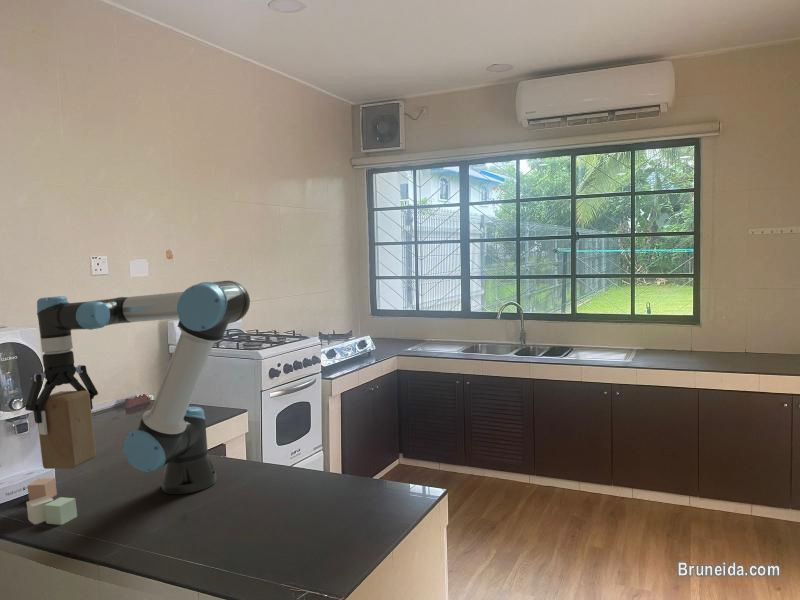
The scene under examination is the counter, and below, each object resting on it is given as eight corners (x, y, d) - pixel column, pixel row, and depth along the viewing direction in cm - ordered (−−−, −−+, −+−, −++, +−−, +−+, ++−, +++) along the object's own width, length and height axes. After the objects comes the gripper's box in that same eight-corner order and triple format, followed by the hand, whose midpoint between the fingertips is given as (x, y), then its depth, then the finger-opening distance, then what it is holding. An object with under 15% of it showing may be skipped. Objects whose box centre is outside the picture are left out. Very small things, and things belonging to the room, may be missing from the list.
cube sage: (77, 516, 159) (75, 498, 159) (61, 525, 154) (59, 506, 154) (62, 515, 160) (60, 497, 160) (46, 523, 156) (44, 505, 155)
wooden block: (72, 470, 164) (64, 398, 163) (41, 470, 166) (33, 399, 165) (98, 457, 174) (90, 389, 172) (68, 457, 176) (60, 390, 174)
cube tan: (57, 494, 176) (55, 478, 176) (46, 501, 171) (44, 484, 171) (40, 495, 176) (38, 478, 176) (29, 502, 171) (27, 485, 171)
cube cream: (55, 517, 159) (53, 499, 159) (34, 525, 155) (32, 506, 155) (49, 513, 162) (47, 495, 162) (28, 520, 159) (26, 501, 158)
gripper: (91, 344, 180) (99, 415, 181) (4, 359, 160) (14, 438, 161) (106, 345, 176) (113, 417, 177) (18, 360, 156) (28, 441, 157)
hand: (66, 427), depth 169 cm, fingers closed on wooden block, 12 cm apart
